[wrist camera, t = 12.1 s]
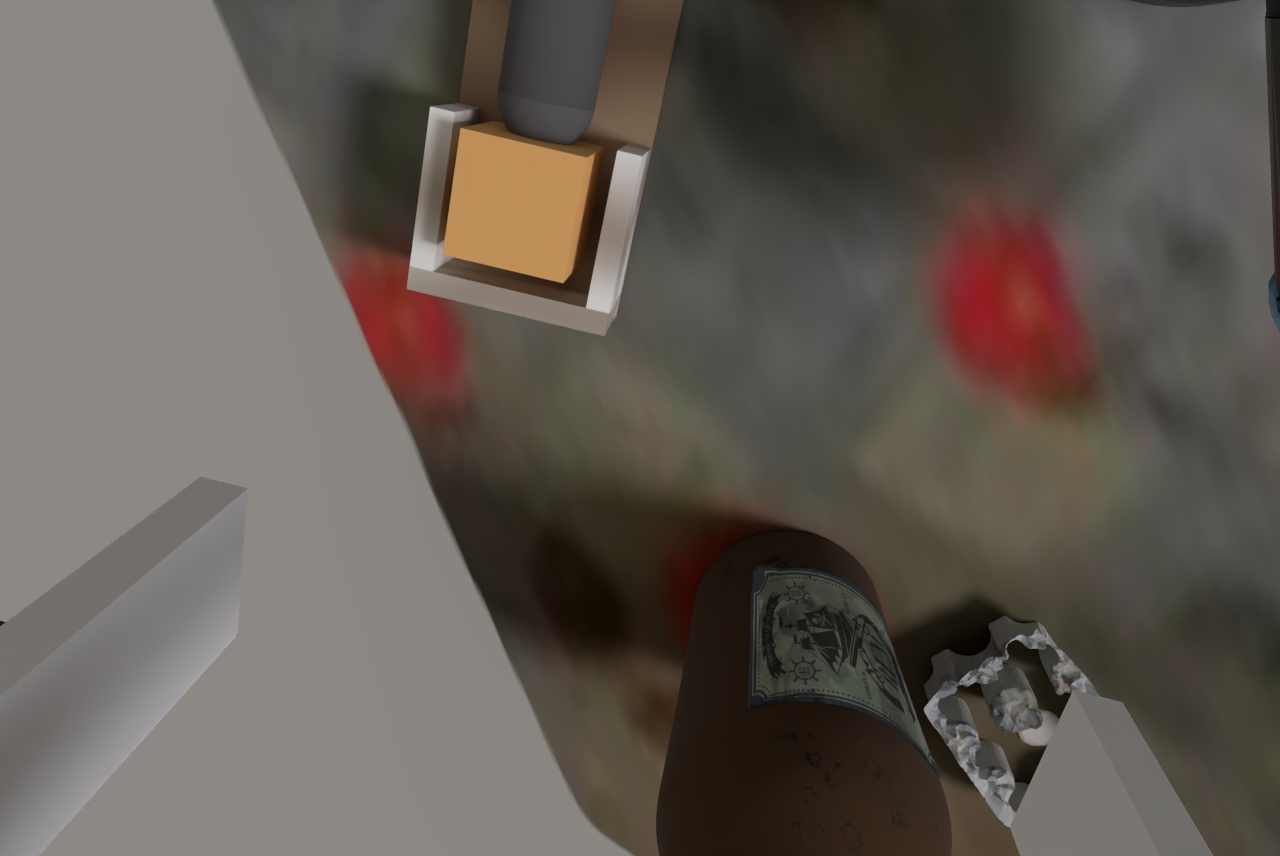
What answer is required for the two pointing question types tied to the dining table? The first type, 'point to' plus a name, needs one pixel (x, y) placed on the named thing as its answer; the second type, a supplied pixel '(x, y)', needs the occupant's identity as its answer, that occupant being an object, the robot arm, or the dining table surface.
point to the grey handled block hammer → (534, 145)
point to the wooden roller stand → (617, 125)
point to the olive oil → (795, 716)
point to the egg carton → (998, 707)
